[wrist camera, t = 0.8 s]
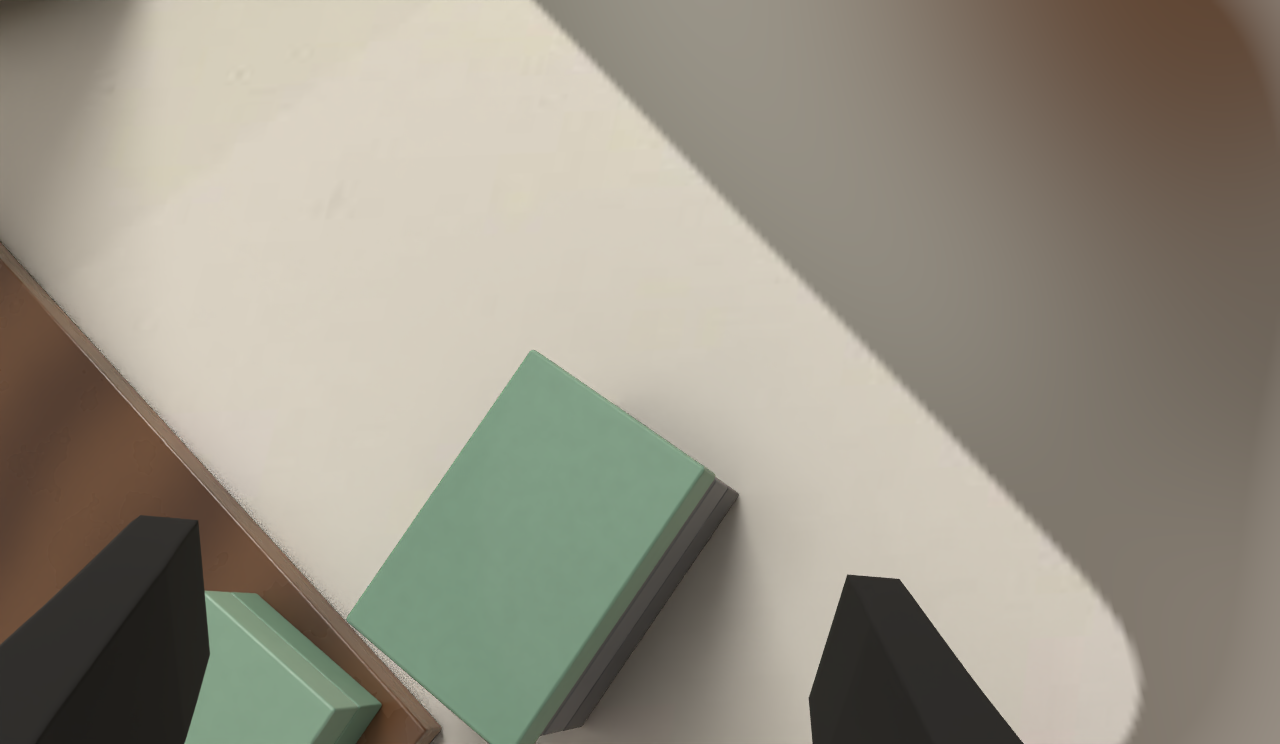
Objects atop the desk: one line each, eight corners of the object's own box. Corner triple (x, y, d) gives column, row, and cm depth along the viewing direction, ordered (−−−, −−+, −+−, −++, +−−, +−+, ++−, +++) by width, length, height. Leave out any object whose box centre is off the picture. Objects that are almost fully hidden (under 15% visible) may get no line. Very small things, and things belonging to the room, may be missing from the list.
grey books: (739, 493, 29) (704, 472, 25) (581, 727, 29) (520, 741, 25) (610, 404, 30) (557, 370, 26) (458, 626, 30) (381, 625, 26)
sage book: (718, 475, 25) (705, 467, 24) (527, 754, 25) (506, 760, 24) (549, 359, 27) (530, 347, 25) (370, 620, 26) (343, 619, 25)
